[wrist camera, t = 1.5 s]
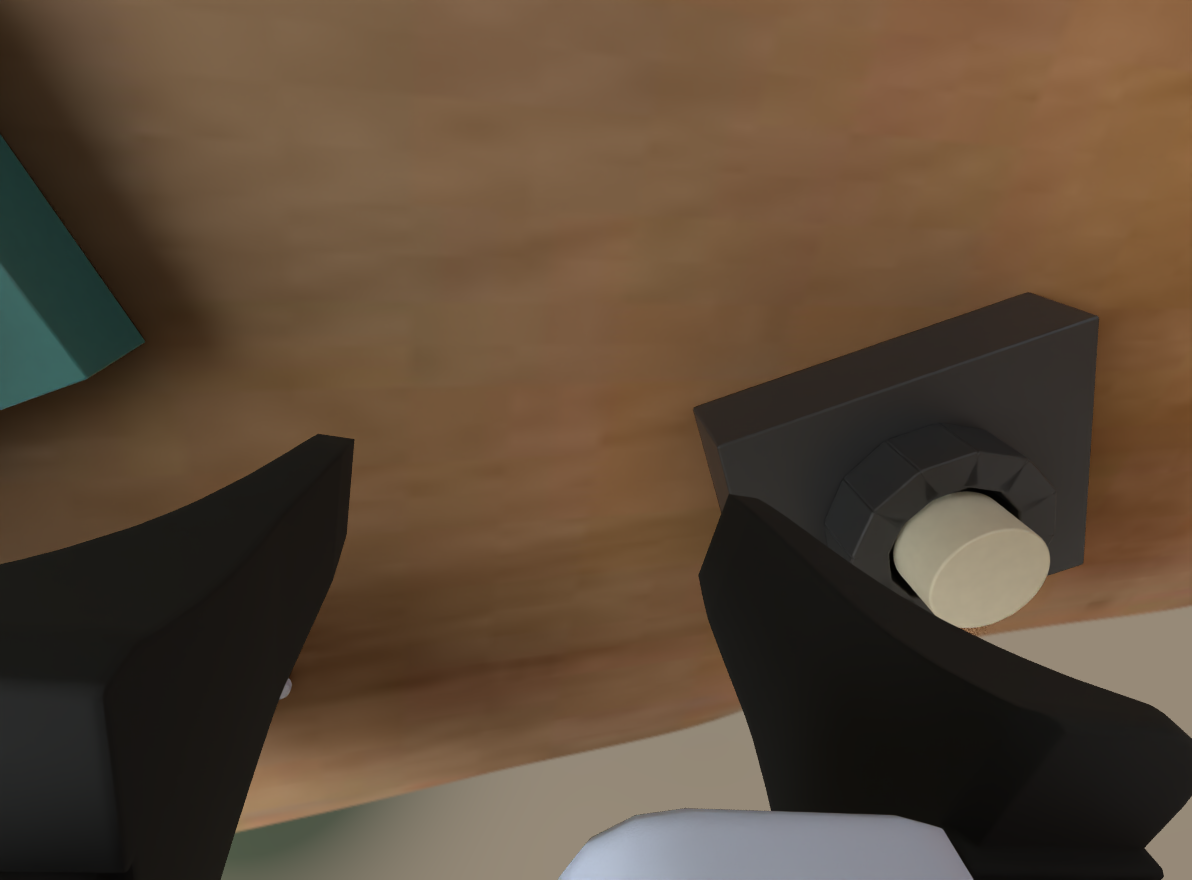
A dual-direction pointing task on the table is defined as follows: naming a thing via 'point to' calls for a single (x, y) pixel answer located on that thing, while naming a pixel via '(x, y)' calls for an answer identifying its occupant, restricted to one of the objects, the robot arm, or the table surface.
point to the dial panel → (49, 298)
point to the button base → (922, 432)
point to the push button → (970, 559)
